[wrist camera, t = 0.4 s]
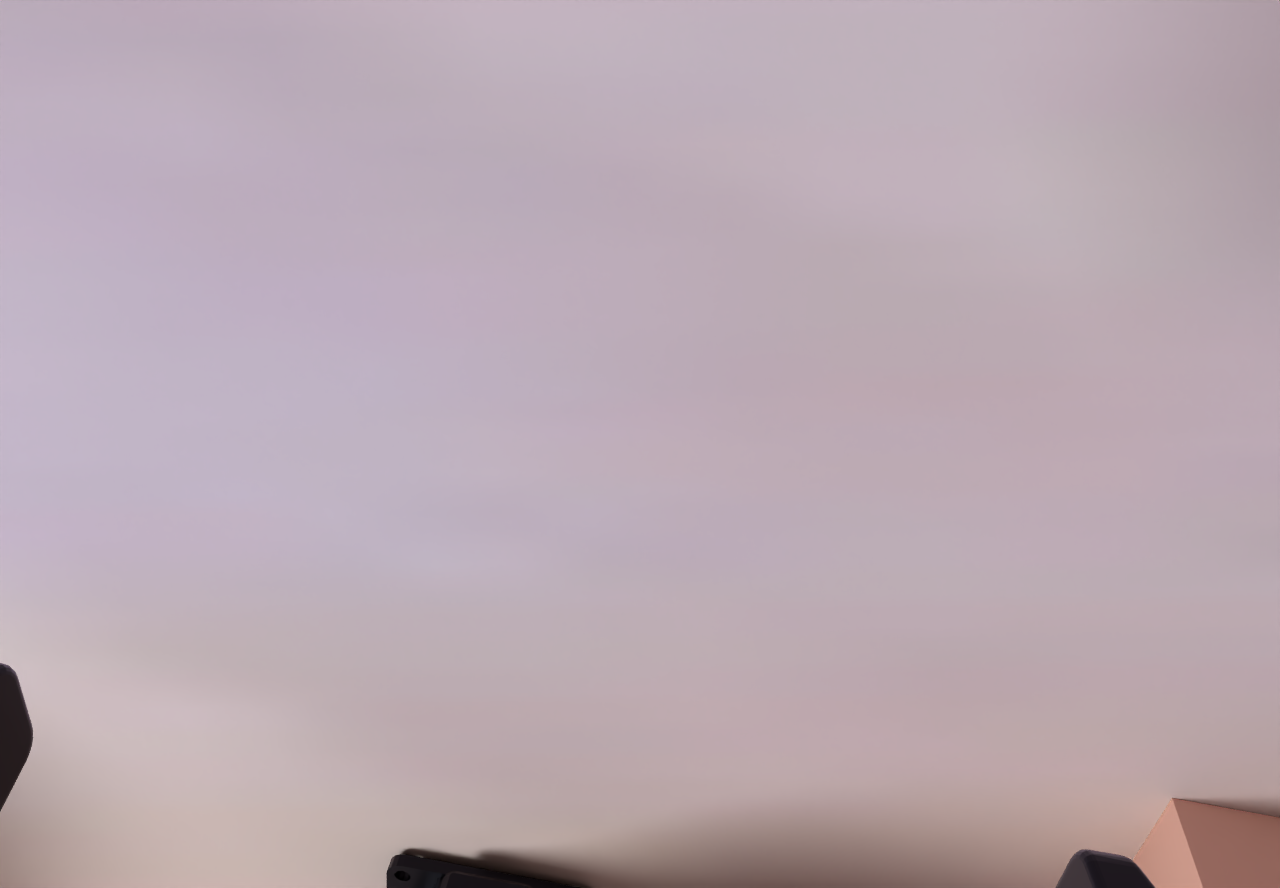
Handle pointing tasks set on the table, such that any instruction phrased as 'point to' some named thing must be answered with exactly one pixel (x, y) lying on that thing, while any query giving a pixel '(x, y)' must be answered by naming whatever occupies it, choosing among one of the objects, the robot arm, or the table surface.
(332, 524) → the table surface
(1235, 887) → the cube
